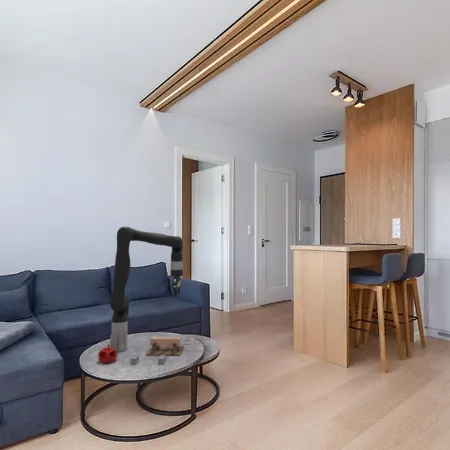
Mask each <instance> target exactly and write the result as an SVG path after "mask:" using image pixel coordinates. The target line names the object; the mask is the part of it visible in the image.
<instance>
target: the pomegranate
mask: <svg viewBox="0 0 450 450" xmlns="http://www.w3.org/2000/svg"><path fill="white" fill-rule="evenodd" d="M110 347H111V346H110V344H107V345H105V346H104V347H102V348H101V350H99V351H98V354H97V355H98V360H99V362H100V363H101V364H112V363H114V362H115V361H116V360H117V357H118V352H117V351H116V350H115V349H112V348H114V347H111V348H110Z"/></svg>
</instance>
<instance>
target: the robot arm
mask: <svg viewBox="0 0 450 450" xmlns="http://www.w3.org/2000/svg"><path fill="white" fill-rule="evenodd" d="M132 241H133V242H143V243H147V244H151V245H157V246H166V247H170V248H171V254H170V277H171V278H172V277H173V279H172V290H173V296H174V297H178V295H179V294H180V293H181V286H182V285H181V284H182V283H181V282H182V281H181V279H182V277H183V275H184V267H183V266H184V265H183V264H184V263H183V248H184V247H183V243H184V242H183V239H182V237H180V236H178V235H177V236H176V235H167V234H163V233H159V232H158V233H157V232H149V231H141V230H139V229H135V228H132V227H130V226H122V227H120V228H119V229H118V230H117V232H116V253H115V259H114V260H115V261H114V268H113V281H112V292H111V296H110V302H109V305H110V308H111V310H112V311H113V313H112V317H111V334H110V341H109V343H110V346H111V347H114V348H112V349H115V350H116V351H117V353H120V352H124V351H127V350H128V317H129V313H130V312H129V310H130V309H129V306H130V302H129V298H128V296H127V295H126V294H125V293H126V286H127V283H128V280H129V277H130V273H131V256H130V244H131V242H132ZM110 346H109V347H110ZM111 347H110V348H111Z"/></svg>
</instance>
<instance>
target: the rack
mask: <svg viewBox="0 0 450 450" xmlns="http://www.w3.org/2000/svg"><path fill="white" fill-rule="evenodd" d="M184 349H185V346H184V345H180V346H176V343H173V346H156V343H153V344H152V346H150V347H149V349H148V351H147V352H146V354H145V356H147V357H151V356H153V357H154V356H155V357H156V356H157V357H160V355H166V357H180V356H181V355H182V353H183V351H184Z"/></svg>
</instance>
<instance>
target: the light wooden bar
mask: <svg viewBox="0 0 450 450" xmlns="http://www.w3.org/2000/svg"><path fill="white" fill-rule="evenodd" d="M153 343H156V346H173V343H176V346H182V337H181V336H180V337H179V336H178V337H173V336H170V337H169V336H165V337H163V336H162V337H161V336H159V337H157V336H151V337H150V339H149V346H150V347H151V346H152V344H153Z"/></svg>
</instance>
